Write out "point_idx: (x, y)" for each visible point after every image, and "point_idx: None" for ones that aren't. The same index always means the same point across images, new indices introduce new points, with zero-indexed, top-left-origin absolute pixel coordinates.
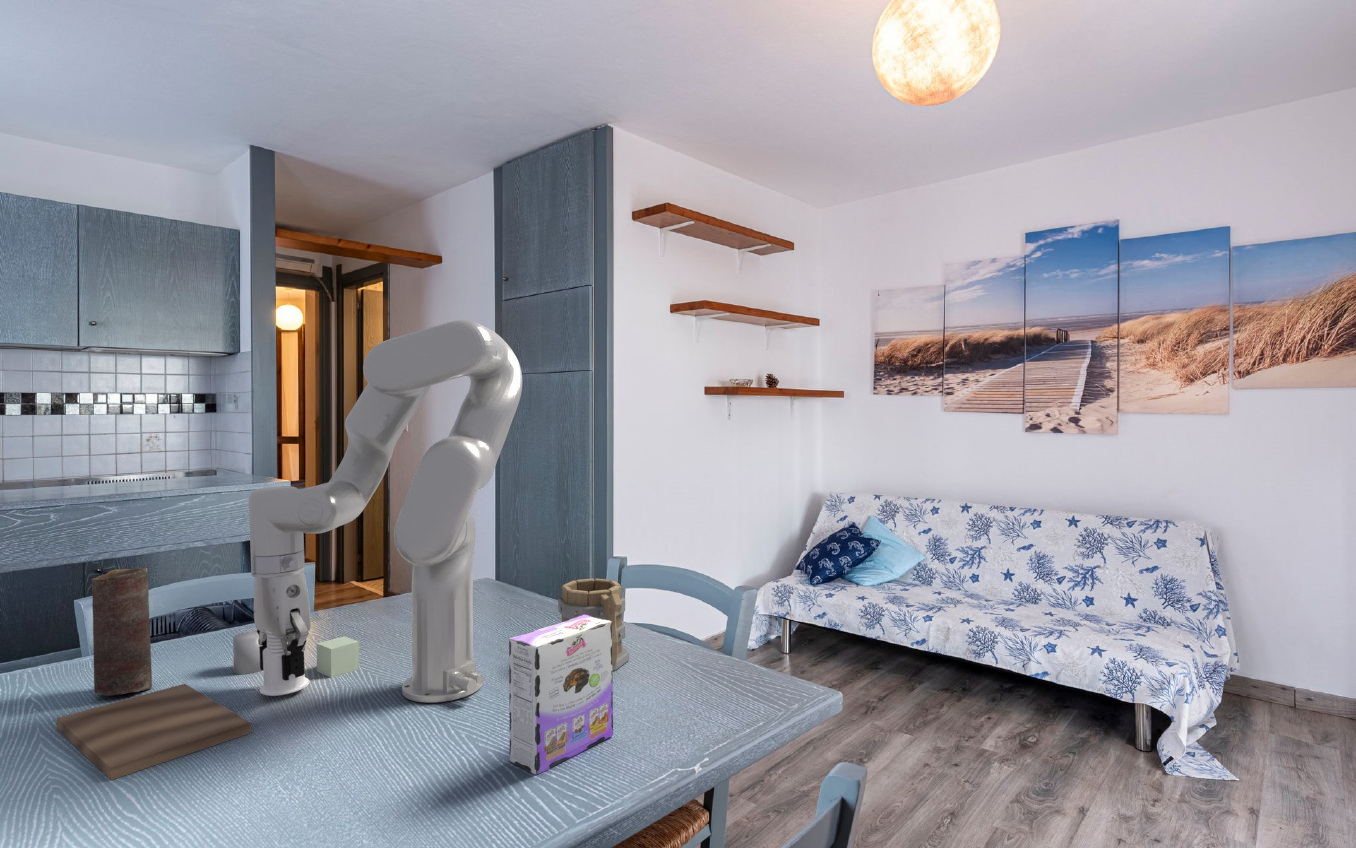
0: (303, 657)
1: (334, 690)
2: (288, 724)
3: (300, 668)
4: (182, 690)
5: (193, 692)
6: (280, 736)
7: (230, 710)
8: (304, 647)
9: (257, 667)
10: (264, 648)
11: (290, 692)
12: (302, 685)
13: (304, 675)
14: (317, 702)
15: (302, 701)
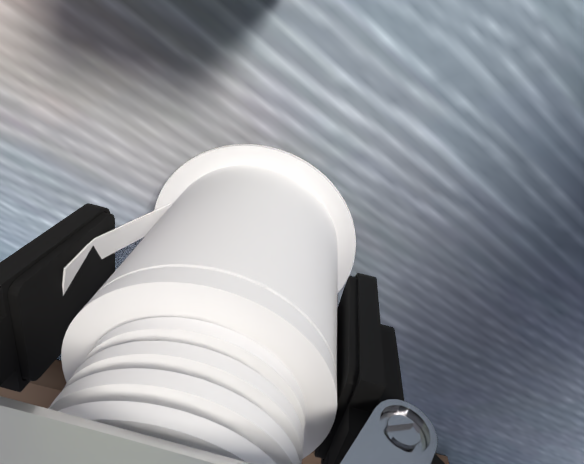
0: (380, 347)
1: (459, 122)
2: (518, 400)
3: (394, 340)
4: (4, 396)
5: (51, 397)
6: (556, 451)
7: (310, 453)
8: (434, 444)
9: None
10: (35, 370)
11: (343, 283)
12: (335, 222)
13: (314, 213)
14: (483, 251)
15: (408, 264)
